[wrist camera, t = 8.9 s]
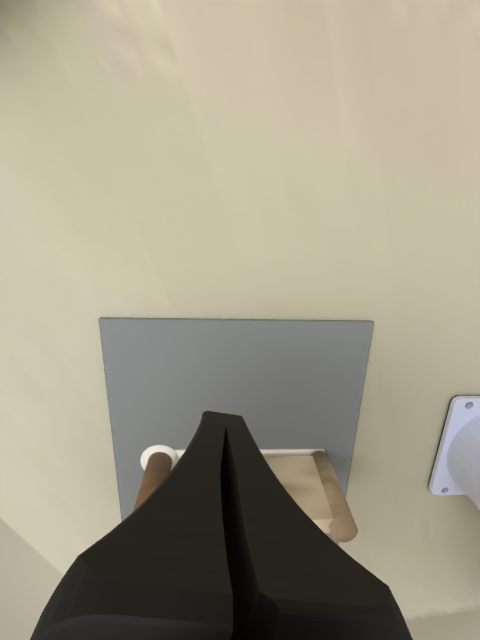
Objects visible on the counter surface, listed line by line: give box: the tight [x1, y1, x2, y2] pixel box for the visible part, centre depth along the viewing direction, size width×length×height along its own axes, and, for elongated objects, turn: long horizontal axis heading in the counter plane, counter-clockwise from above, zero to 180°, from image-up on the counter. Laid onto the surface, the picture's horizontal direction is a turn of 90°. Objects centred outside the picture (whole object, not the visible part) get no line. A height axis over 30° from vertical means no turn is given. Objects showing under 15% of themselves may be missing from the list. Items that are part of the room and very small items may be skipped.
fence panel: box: [176, 451, 358, 542], centre depth 21 cm, size 10×1×5 cm, turn 90°
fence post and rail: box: [133, 452, 172, 511], centre depth 22 cm, size 2×10×6 cm, turn 178°
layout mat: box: [99, 317, 374, 545], centre depth 23 cm, size 16×19×1 cm
